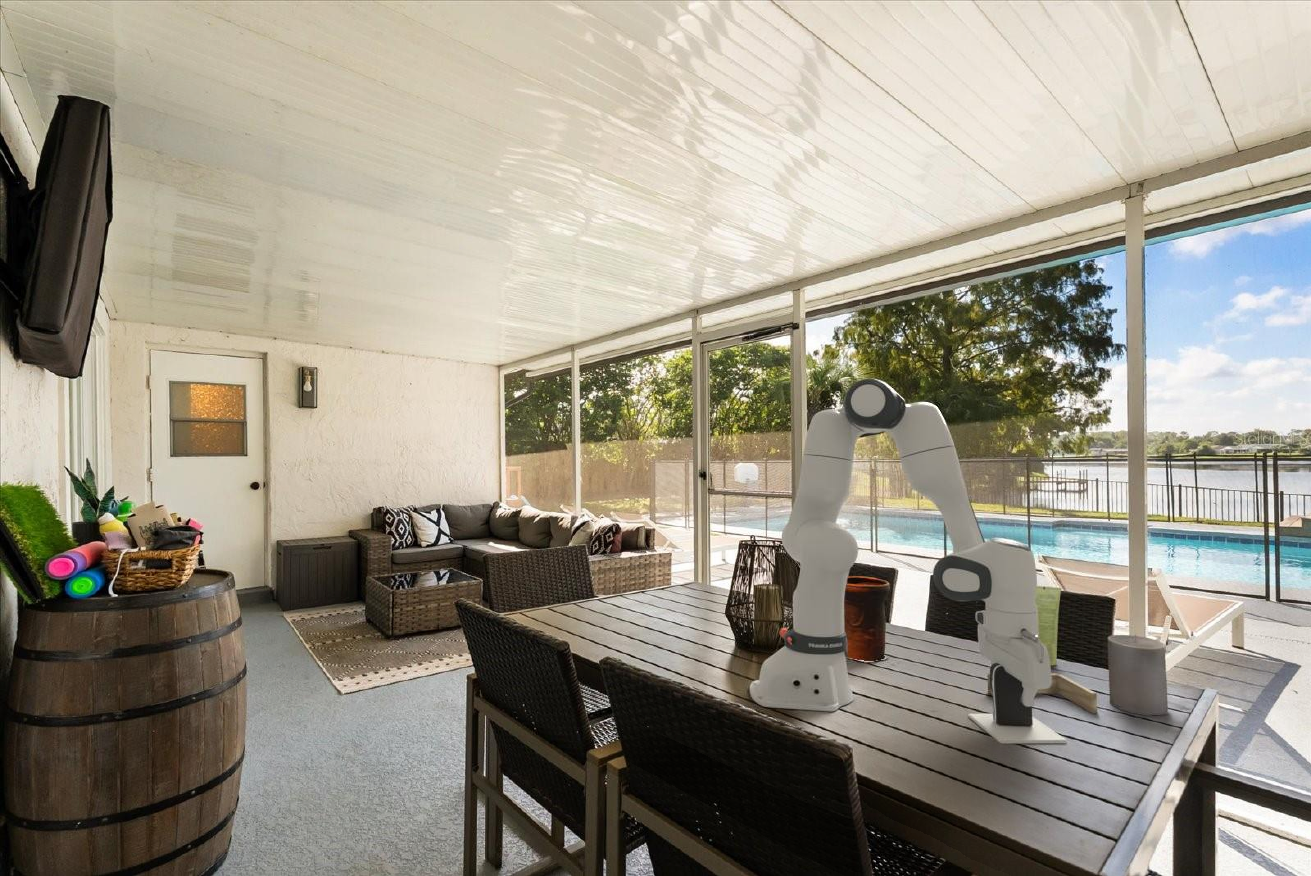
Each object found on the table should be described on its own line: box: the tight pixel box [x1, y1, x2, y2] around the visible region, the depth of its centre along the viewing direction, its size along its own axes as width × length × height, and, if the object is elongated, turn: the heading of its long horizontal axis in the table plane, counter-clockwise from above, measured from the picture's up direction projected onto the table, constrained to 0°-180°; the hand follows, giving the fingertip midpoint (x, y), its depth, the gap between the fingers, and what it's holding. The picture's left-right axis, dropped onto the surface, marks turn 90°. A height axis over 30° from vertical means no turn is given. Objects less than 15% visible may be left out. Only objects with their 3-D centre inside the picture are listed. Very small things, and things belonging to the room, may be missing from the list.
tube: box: [1035, 585, 1062, 667], centre depth 159 cm, size 6×5×20 cm
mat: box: [967, 713, 1068, 744], centre depth 120 cm, size 12×12×1 cm
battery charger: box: [989, 663, 1033, 726], centre depth 122 cm, size 7×4×11 cm, turn 83°
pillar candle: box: [1107, 634, 1169, 716], centre depth 130 cm, size 10×10×15 cm
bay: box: [987, 672, 1098, 714], centre depth 133 cm, size 16×12×4 cm
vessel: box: [844, 576, 891, 663], centre depth 167 cm, size 14×14×20 cm
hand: (1013, 695), depth 120 cm, fingers open, 8 cm apart
